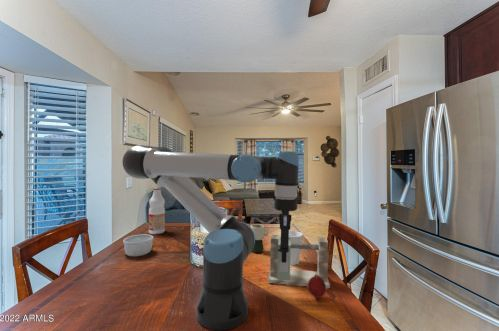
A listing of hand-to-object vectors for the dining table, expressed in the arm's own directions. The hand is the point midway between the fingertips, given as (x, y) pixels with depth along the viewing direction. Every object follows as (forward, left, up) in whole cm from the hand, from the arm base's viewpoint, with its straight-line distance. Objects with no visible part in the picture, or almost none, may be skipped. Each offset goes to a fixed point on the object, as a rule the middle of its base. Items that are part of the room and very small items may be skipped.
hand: (283, 265), depth 80 cm
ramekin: (-71, +26, -11) cm, 76 cm away
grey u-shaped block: (0, 0, -3) cm, 3 cm away
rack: (+5, +13, -11) cm, 18 cm away
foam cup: (+3, +29, -11) cm, 31 cm away
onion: (+11, +1, -11) cm, 16 cm away
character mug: (-14, +39, -11) cm, 43 cm away
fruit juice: (-80, +58, -11) cm, 99 cm away
